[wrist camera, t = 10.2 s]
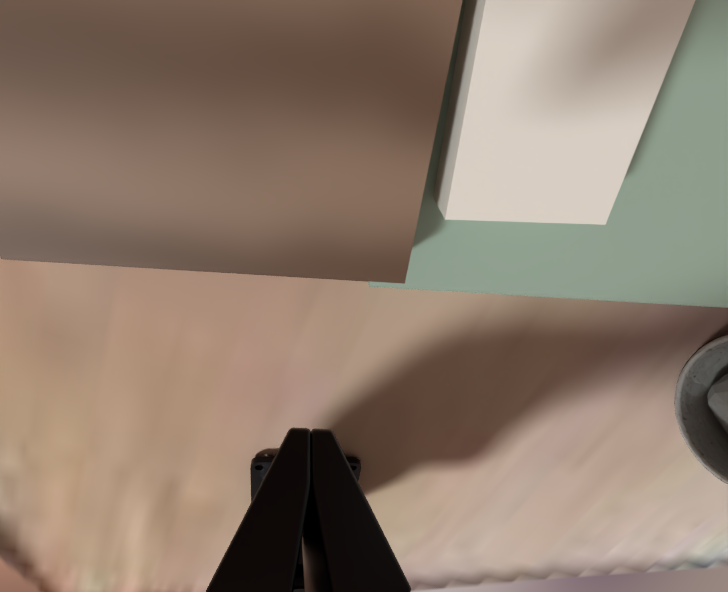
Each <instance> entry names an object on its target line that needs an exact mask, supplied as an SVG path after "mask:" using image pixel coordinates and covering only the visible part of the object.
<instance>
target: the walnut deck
mask: <svg viewBox="0 0 728 592" xmlns="http://www.w3.org/2000/svg"><path fill="white" fill-rule="evenodd" d="M462 1H463V0H0V257H1V259H7V260H23V261H40V262H56V263H72V264H89V265H105V266H122V267H138V268H155V269H171V270H188V271H204V272H221V273H237V274H254V275H270V276H287V277H303V278H320V279H336V280H353V281H369V282H386V283H402V284H405V280H406V275H407V271H408V266H409V261H410V256H411V251H412V246H413V241H414V236H415V231H416V226H417V222H418V217H419V212H420V207H421V202H422V197H423V192H424V187H425V182H426V177H427V172H428V168H429V163H430V158H431V153H432V148H433V143H434V138H435V133H436V128H437V123H438V119H439V114H440V109H441V104H442V99H443V94H444V89H445V84H446V79H447V74H448V69H449V65H450V60H451V55H452V50H453V45H454V40H455V35H456V30H457V25H458V20H459V16H460V11H461V6H462Z"/></svg>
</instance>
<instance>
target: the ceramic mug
mask: <svg viewBox="0 0 728 592" xmlns="http://www.w3.org/2000/svg"><path fill="white" fill-rule="evenodd" d="M674 404H675V414H676V419H677V422H678V425H679V428H680V431H681V434H682V436H683V438H684V440H685V442H686V444H687V445H688V447H689V449H690V450H691V452H692V453H693V454H694V456H695V457H696V458H697V459H698V460H699V462H700V463H701V464H702V465H703V466H704V467H705V468H706V469H707V470H708V471H709V472H711V473H712V474H713V475H714V476H715V477H717V478H718V479H720V480H721V481H723V482H725V483H726V484H728V335H726V336H722V337H720V338H717V339H715V340H713V341H711V342H710V343H708V344H706V345H705V346H703V347H702V348H701V349H699V350H698V351H697V352H696V353H695V354H694V355H693V356H692V357H691V358H690V360H689V361H688V362H687V364H686V365H685V366H684V368H683V369H682V371H681V374H680V376H679V379H678V382H677V385H676V392H675V401H674Z"/></svg>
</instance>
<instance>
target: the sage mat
mask: <svg viewBox="0 0 728 592" xmlns="http://www.w3.org/2000/svg"><path fill="white" fill-rule="evenodd" d="M465 2H466V0H463V1H462V6H461V11H460V16H459V20H458V25H457V30H456V35H455V40H454V45H453V50H452V55H451V60H450V65H449V69H448V74H447V79H446V84H445V89H444V94H443V99H442V104H441V109H440V114H439V119H438V123H437V128H436V133H435V138H434V143H433V148H432V153H431V158H430V163H429V168H428V172H427V177H426V182H425V187H424V192H423V197H422V202H421V207H420V212H419V217H418V222H417V226H416V231H415V236H414V241H413V246H412V251H411V256H410V261H409V266H408V271H407V275H406V280H405V284H402V283H386V282H369V281H368V283H369V287H384V288H401V289H418V290H435V291H452V292H469V293H486V294H503V295H520V296H537V297H553V298H570V299H587V300H604V301H621V302H638V303H655V304H672V305H689V306H706V307H723V308H728V0H695V3H694V5H693V8H692V10H691V13H690V15H689V18H688V20H687V23H686V25H685V28H684V30H683V33H682V35H681V37H680V40H679V42H678V45H677V47H676V50H675V52H674V55H673V57H672V60H671V62H670V65H669V67H668V70H667V72H666V75H665V77H664V80H663V82H662V85H661V87H660V90H659V92H658V95H657V97H656V100H655V102H654V105H653V107H652V110H651V112H650V115H649V117H648V120H647V122H646V125H645V127H644V130H643V132H642V135H641V137H640V140H639V142H638V145H637V147H636V150H635V152H634V155H633V157H632V160H631V162H630V165H629V167H628V170H627V172H626V175H625V177H624V180H623V182H622V185H621V187H620V190H619V192H618V195H617V197H616V200H615V202H614V205H613V207H612V210H611V212H610V215H609V217H608V220H607V222H606V225H598V224H567V223H536V222H505V221H475V220H445V218H444V217H443V215H442V213H441V211H440V209H439V207H438V206H437V204H436V202H435V200H434V198H433V196H434V190H435V184H436V178H437V172H438V166H439V160H440V154H441V148H442V142H443V135H444V129H445V123H446V117H447V111H448V105H449V99H450V93H451V87H452V81H453V75H454V69H455V63H456V57H457V51H458V45H459V38H460V32H461V26H462V20H463V14H464V8H465Z"/></svg>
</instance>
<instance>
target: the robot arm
mask: <svg viewBox="0 0 728 592" xmlns="http://www.w3.org/2000/svg"><path fill="white" fill-rule="evenodd" d="M360 469H361V465H360V460H359V459H358V458H355V457H345V455H344V453H343V451H342V449H341V447H340V445H339V443H338V441H337V439H336V437H335V435H334V433H333V432H332V431H331V430H329V429H313V430H312V431H310V430H309V429H308V428H291V429H290V430H289V431H288V433H287V435H286V437H285V439H284V441H283V442H282V444H281V446H280V448H279V450H278V452H277V454H276V456H275V457H261V456H260V457H255V458H253V459H252V461H251V504H250V506H249V508H248V510H247V512H246V514H245V516H244V518H243V520H242V522H241V524H240V526H239V528H238V530H237V532H236V534H235V535H234V537H233V539H232V541H231V543H230V545H229V547H228V549H227V551H226V553H225V555H224V557H223V559H222V561H221V563H220V564H219V566H218V568H217V570H216V572H215V574H214V576H213V578H212V580H211V582H210V584H209V586H208V588H207V590H206V592H410V591H411V587H410V585H409V583H408V581H407V579H406V577H405V575H404V573H403V571H402V569H401V567H400V565H399V563H398V561H397V559H396V557H395V555H394V553H393V551H392V549H391V547H390V545H389V543H388V541H387V539H386V537H385V535H384V533H383V531H382V529H381V527H380V525H379V523H378V521H377V519H376V517H375V515H374V513H373V511H372V509H371V507H370V505H369V503H368V501H367V499H366V497H365V495H364V493H363V491H362V489H361V487H360V485H359V483H358V480H359V475H360Z"/></svg>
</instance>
